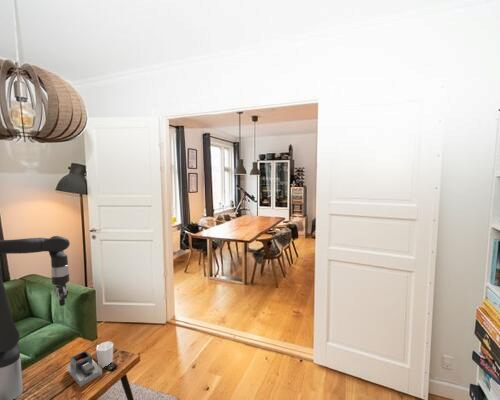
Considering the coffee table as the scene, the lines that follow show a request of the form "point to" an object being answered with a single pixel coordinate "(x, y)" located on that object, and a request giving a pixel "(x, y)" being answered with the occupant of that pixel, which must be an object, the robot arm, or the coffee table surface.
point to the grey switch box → (78, 373)
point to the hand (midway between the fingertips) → (62, 305)
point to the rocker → (88, 367)
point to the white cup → (104, 353)
